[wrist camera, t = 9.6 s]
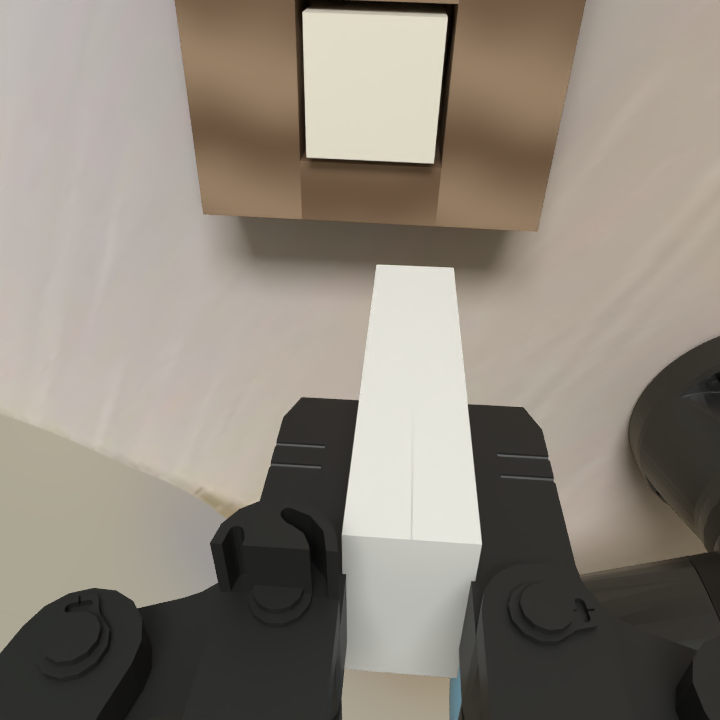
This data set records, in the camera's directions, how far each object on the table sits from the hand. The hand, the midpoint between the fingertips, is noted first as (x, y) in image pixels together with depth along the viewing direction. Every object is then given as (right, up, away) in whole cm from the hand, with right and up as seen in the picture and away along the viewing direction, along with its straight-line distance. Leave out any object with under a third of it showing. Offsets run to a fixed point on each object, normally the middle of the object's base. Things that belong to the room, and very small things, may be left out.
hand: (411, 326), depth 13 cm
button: (0, +13, +16) cm, 21 cm away
